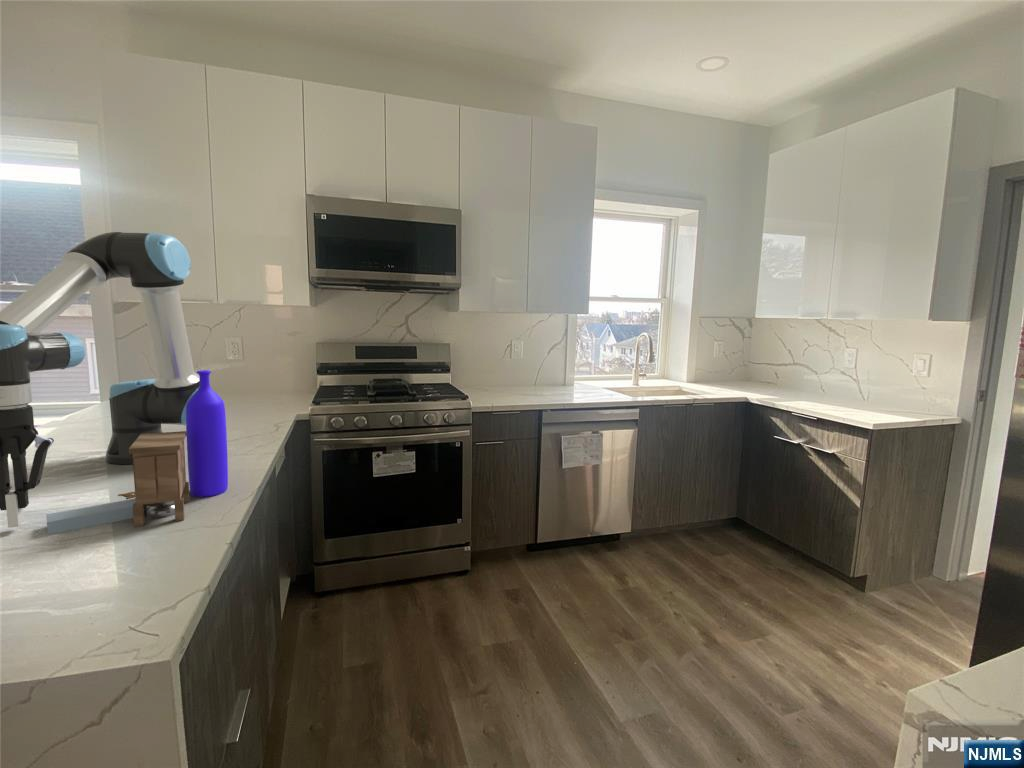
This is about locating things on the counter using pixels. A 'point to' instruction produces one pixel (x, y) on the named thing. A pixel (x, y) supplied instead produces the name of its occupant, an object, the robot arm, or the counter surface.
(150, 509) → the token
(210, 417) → the bottle
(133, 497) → the saw handle
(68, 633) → the counter surface
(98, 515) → the batten
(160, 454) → the cabinet
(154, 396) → the robot arm
